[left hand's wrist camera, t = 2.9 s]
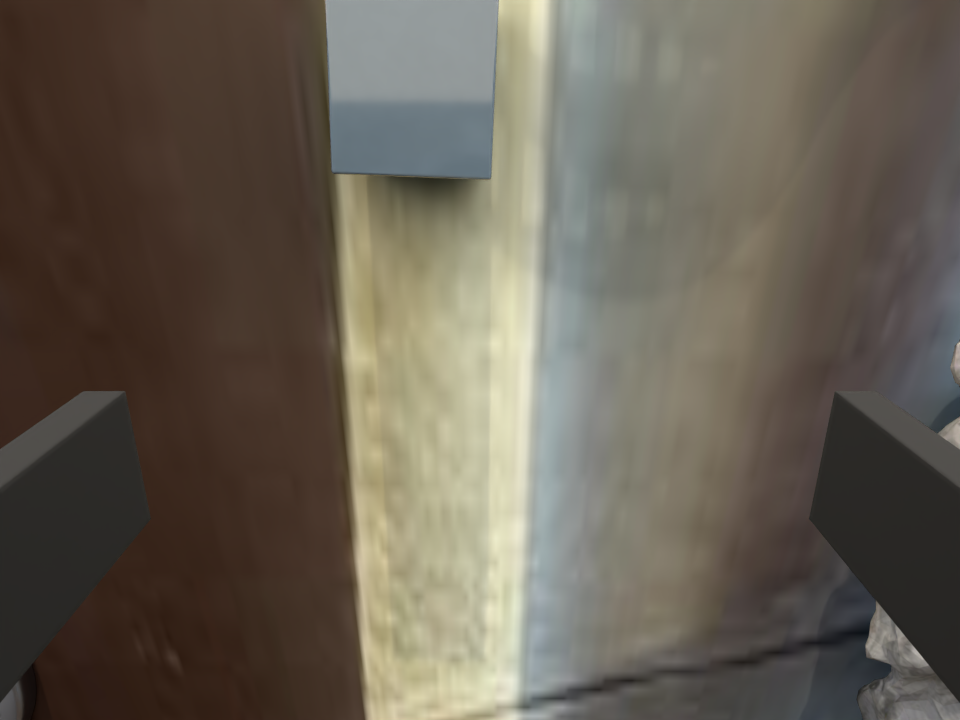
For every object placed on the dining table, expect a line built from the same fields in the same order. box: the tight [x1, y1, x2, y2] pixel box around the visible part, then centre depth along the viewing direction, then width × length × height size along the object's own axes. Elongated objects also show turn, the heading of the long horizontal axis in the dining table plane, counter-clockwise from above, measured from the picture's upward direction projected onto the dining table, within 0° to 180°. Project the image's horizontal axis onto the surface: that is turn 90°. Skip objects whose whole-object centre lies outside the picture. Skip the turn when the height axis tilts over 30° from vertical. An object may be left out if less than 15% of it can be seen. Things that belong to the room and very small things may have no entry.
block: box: [325, 0, 499, 180], centre depth 23 cm, size 5×6×7 cm
